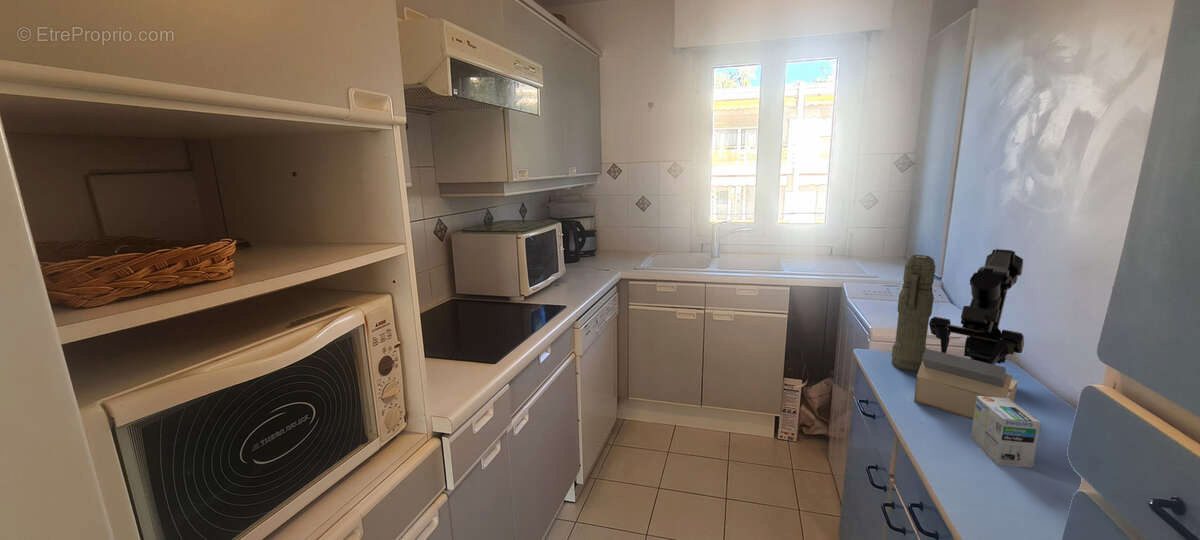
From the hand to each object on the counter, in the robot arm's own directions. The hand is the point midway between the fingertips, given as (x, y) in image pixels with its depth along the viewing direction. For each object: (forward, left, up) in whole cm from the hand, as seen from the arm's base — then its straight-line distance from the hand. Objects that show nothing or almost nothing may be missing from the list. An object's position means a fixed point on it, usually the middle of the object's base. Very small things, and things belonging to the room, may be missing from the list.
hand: (964, 362), depth 117 cm
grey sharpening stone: (0, 0, -4) cm, 4 cm away
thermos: (-22, -18, -14) cm, 32 cm away
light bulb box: (+14, +11, -14) cm, 22 cm away
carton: (-5, 0, -13) cm, 14 cm away
